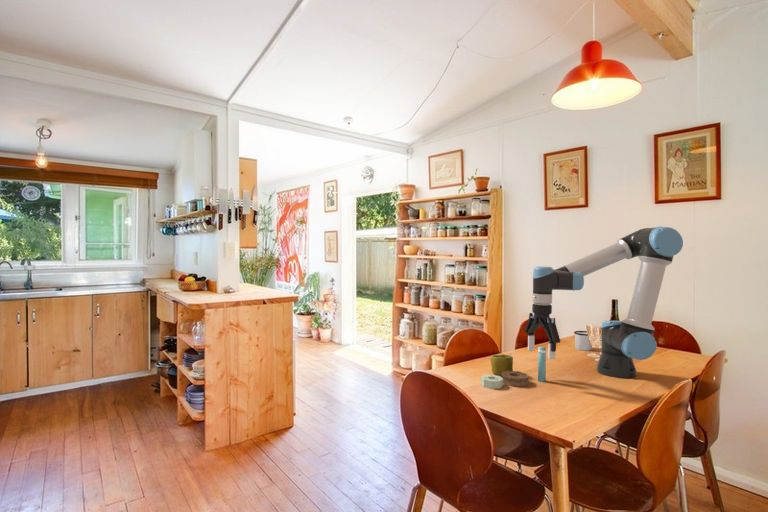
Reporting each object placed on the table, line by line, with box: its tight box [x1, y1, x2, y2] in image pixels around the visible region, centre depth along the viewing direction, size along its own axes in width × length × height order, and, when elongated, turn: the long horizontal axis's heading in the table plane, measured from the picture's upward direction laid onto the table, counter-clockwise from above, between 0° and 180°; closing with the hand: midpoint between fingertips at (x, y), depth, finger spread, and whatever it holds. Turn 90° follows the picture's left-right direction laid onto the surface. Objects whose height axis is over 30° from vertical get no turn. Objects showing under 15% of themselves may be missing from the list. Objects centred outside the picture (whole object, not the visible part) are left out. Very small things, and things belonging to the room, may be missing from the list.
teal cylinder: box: [537, 346, 547, 383], centre depth 168 cm, size 3×3×14 cm
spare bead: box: [480, 374, 504, 390], centre depth 163 cm, size 8×8×3 cm
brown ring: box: [501, 370, 529, 388], centre depth 166 cm, size 10×10×3 cm
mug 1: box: [490, 353, 514, 377], centre depth 178 cm, size 12×10×10 cm
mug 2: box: [573, 330, 593, 352], centre depth 221 cm, size 12×10×9 cm
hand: (540, 354), depth 168 cm, fingers open, 13 cm apart
